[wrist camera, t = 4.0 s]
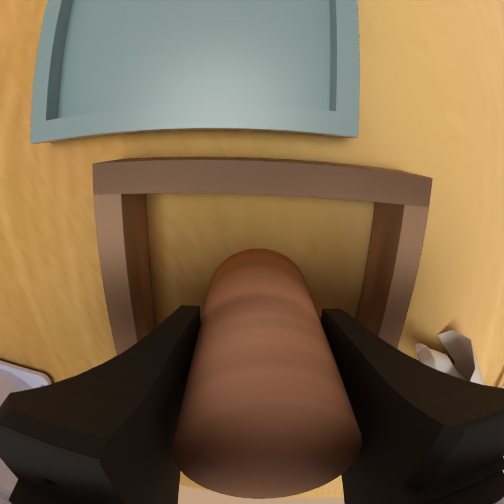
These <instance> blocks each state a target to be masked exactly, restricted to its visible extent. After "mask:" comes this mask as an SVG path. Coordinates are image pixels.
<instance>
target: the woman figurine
mask: <svg viewBox="0 0 504 504" xmlns="http://www.w3.org/2000/svg"><path fill="white" fill-rule="evenodd" d="M438 337H439V338H440V340H441V342H442V343H443V345H444V346H445V348H446V350H447V351H448V353H449V354H450V356H451V357H452V359H453V360H454V362H455V364H454V366H453V364H452V362H451V361H450V359H449V358H448V356H447V355H446V354H443V353H441V352H438V351H435V350H432V349H429V348H428V347H427V346H426V345H424V344H421V343H417V344H416V345H415V349H416V352H417V353H418V355H419V359H420V362H421V363H423V364H425V365H427V366H430V367H432V368H434V369H436V370H439V371H442V372H444V373H447V374H449V375H452V376H455V377H458V378H461V379H464V380H467V381H471V382H474V383H478V384H482V385H485V383H484V379H483V376H482V373H481V369H480V366H479V363H478V360H477V357H476V354H475V351H474V348H473V345H472V342H471V339H469V338H467V337H465V336H463V335H461V334H459V333H457V332H455V331H453V330H450V331H447V332H444V333H441V334H438ZM501 388H504V383H503V385H502V387H501Z"/></svg>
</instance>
